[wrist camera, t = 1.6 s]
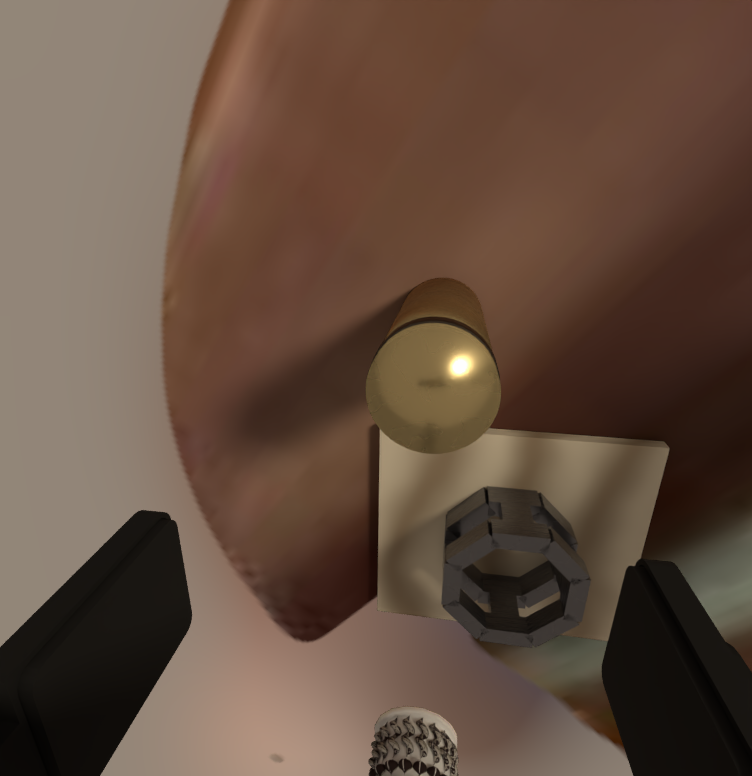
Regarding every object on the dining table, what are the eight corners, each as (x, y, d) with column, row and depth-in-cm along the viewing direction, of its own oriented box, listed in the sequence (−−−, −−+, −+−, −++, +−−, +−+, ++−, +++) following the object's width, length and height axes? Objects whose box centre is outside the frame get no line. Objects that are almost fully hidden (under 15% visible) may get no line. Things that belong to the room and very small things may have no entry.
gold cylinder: (487, 278, 31) (509, 331, 18) (479, 360, 33) (494, 460, 20) (401, 275, 32) (364, 324, 19) (398, 356, 34) (364, 449, 21)
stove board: (663, 441, 33) (669, 448, 32) (614, 632, 40) (618, 642, 39) (381, 420, 36) (379, 425, 35) (379, 601, 43) (377, 610, 42)
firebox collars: (578, 494, 35) (599, 544, 30) (558, 593, 38) (574, 653, 33) (448, 482, 36) (447, 528, 31) (440, 579, 39) (438, 635, 34)
